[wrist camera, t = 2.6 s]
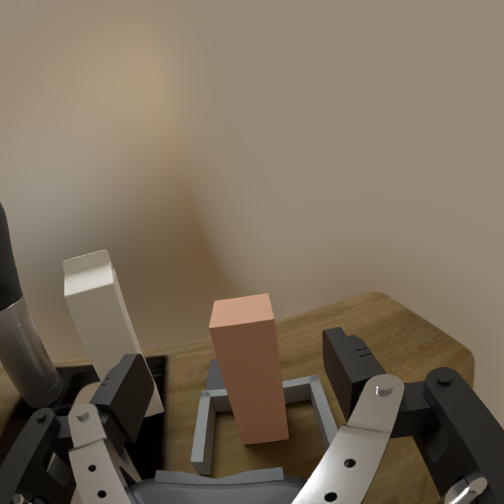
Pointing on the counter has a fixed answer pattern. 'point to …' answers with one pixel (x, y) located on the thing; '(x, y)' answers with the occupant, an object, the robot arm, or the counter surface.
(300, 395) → the stall
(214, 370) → the mat
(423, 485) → the counter surface
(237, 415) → the post
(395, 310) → the counter surface
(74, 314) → the milk
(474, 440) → the robot arm
